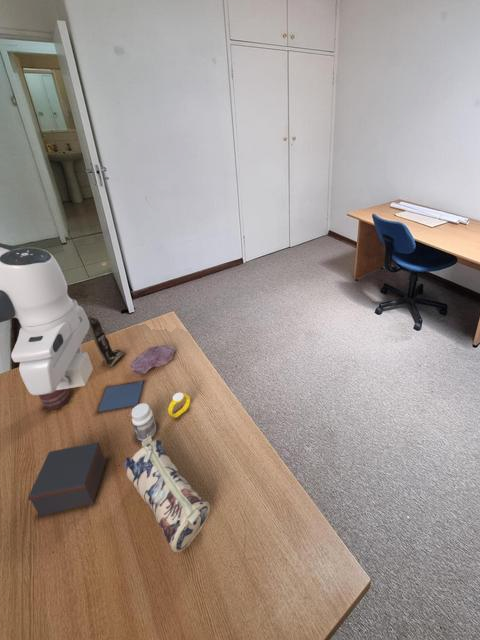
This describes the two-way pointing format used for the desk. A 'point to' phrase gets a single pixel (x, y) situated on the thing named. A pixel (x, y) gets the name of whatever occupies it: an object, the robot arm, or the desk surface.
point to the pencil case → (167, 494)
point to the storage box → (68, 479)
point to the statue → (104, 344)
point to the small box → (78, 370)
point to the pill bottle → (143, 421)
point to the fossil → (152, 358)
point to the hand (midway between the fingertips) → (72, 373)
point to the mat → (121, 396)
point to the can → (55, 399)
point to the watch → (176, 399)
